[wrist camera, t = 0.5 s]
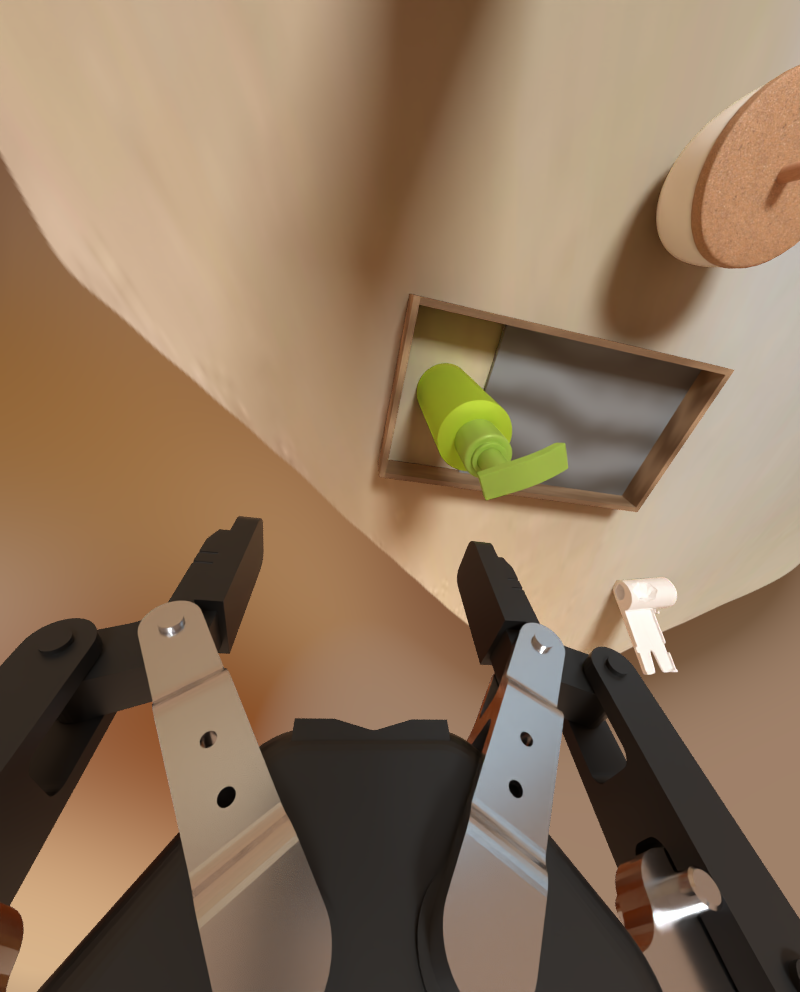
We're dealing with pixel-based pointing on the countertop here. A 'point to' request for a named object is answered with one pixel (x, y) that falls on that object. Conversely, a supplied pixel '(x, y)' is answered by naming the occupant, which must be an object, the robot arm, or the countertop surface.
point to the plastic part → (646, 618)
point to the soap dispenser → (480, 434)
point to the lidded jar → (738, 182)
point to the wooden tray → (576, 409)
